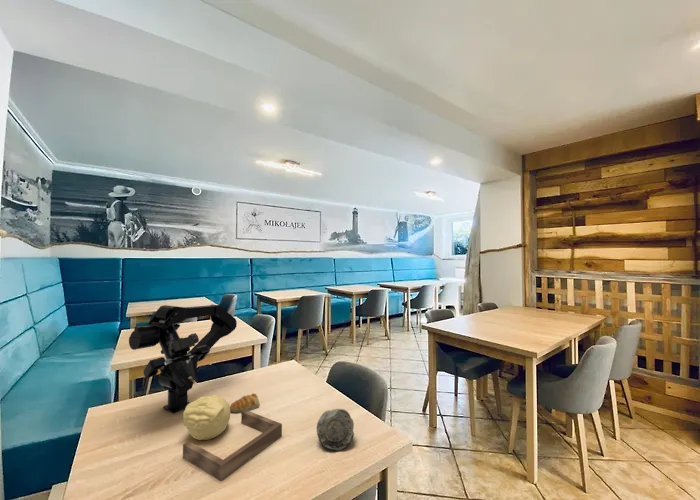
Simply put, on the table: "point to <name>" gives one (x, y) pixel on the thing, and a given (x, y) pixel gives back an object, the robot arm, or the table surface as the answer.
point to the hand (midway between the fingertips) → (189, 383)
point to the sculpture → (206, 417)
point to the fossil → (335, 429)
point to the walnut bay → (242, 455)
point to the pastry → (245, 403)
